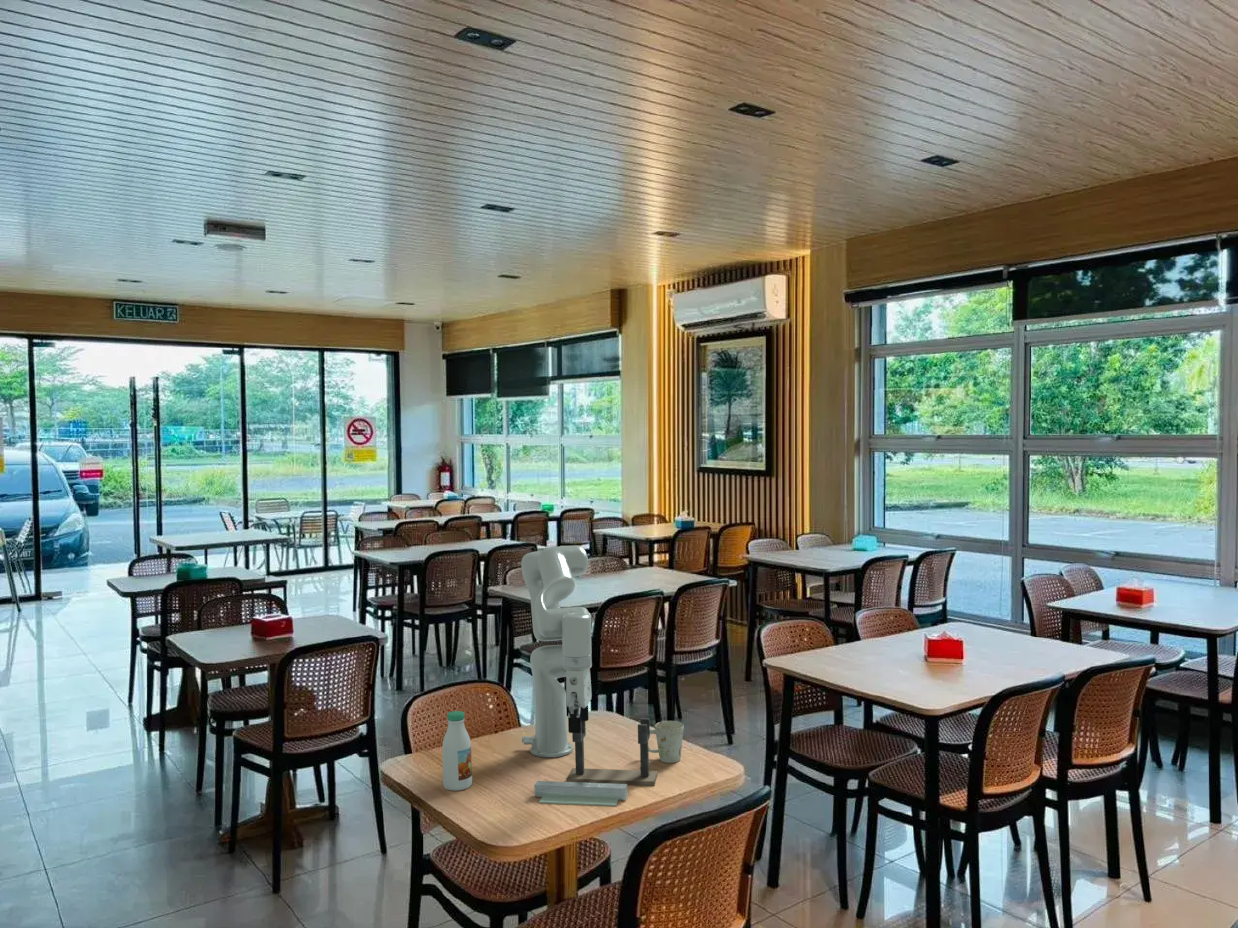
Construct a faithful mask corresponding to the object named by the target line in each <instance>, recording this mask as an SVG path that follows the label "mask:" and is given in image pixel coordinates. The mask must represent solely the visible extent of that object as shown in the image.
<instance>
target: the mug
mask: <svg viewBox="0 0 1238 928" xmlns="http://www.w3.org/2000/svg"><path fill="white" fill-rule="evenodd" d="M684 730H685V727H684V723H682V722H680V721H677V720H664V721H659V722H657V723H655V724H654V729H650V735H655V737H656V743H657V744H656V745H657V749H651V748H650V747H649V746H648V750H649V753H653V754H656V753H657V754H658V755H659V761H661V762H662V763H666V764H667V763H668V764H673V763H678V762H680V761H681V758H682V749H683V738H684Z"/></svg>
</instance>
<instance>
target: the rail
mask: <svg viewBox="0 0 1238 928" xmlns="http://www.w3.org/2000/svg"><path fill="white" fill-rule="evenodd" d="M533 788H534V798H535V797H537V798H538V797H539V798H542V797H560V798H586V799H611V800H618V801H621V800H622V801H626V800H627V798H628V785H627V784H610V783H582V782H566V781H556V780H555V781H553V780H552V781H551V780H550V781H549V780H536V782H535V784H534V786H533Z"/></svg>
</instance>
